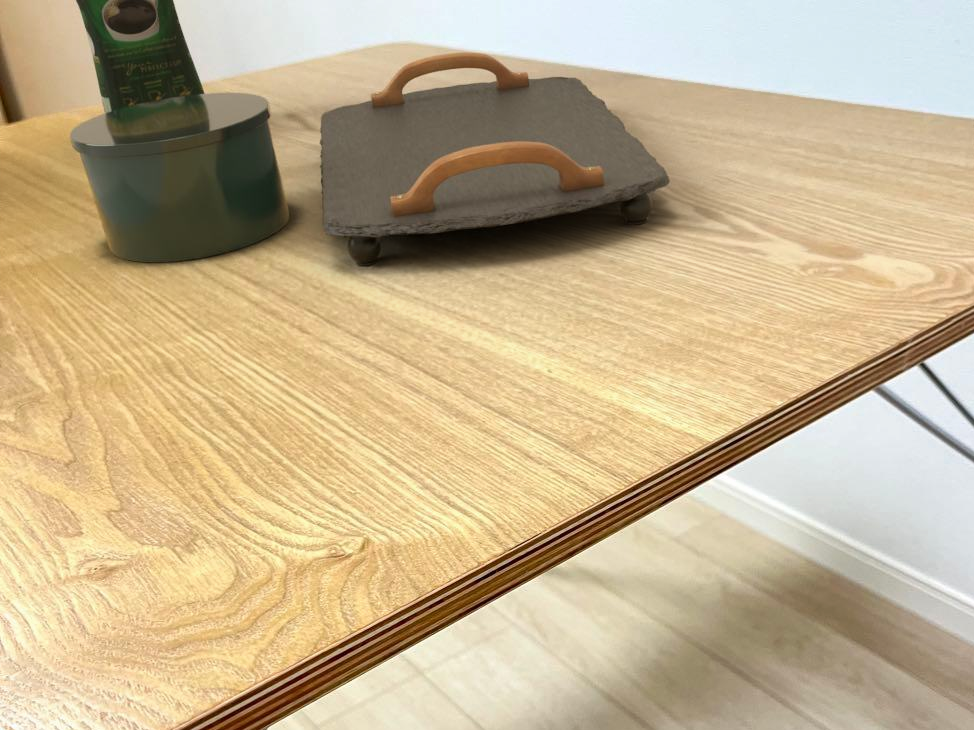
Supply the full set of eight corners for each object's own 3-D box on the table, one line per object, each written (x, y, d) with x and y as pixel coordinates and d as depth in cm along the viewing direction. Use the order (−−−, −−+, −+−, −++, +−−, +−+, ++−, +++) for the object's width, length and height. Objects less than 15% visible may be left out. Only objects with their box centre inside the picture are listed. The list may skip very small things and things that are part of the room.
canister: (71, 268, 79) (31, 150, 75) (152, 205, 90) (122, 99, 86) (257, 259, 77) (227, 137, 72) (316, 195, 88) (294, 86, 83)
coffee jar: (208, 116, 115) (155, -94, 105) (217, 132, 109) (162, -89, 98) (109, 133, 113) (46, -79, 102) (113, 151, 106) (46, -73, 96)
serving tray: (324, 137, 103) (310, 64, 99) (576, 101, 105) (571, 28, 101) (329, 289, 71) (308, 189, 67) (692, 234, 73) (689, 134, 69)
